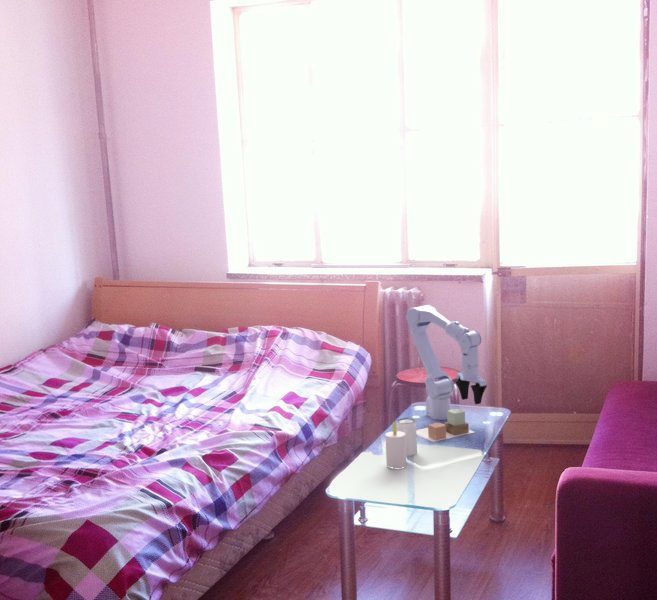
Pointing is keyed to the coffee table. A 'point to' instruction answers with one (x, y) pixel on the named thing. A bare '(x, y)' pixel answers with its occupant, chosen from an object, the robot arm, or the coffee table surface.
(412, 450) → the can
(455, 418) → the sage block
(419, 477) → the coffee table surface
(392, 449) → the candle
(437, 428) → the terracotta block
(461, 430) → the walnut block
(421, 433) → the cream board
